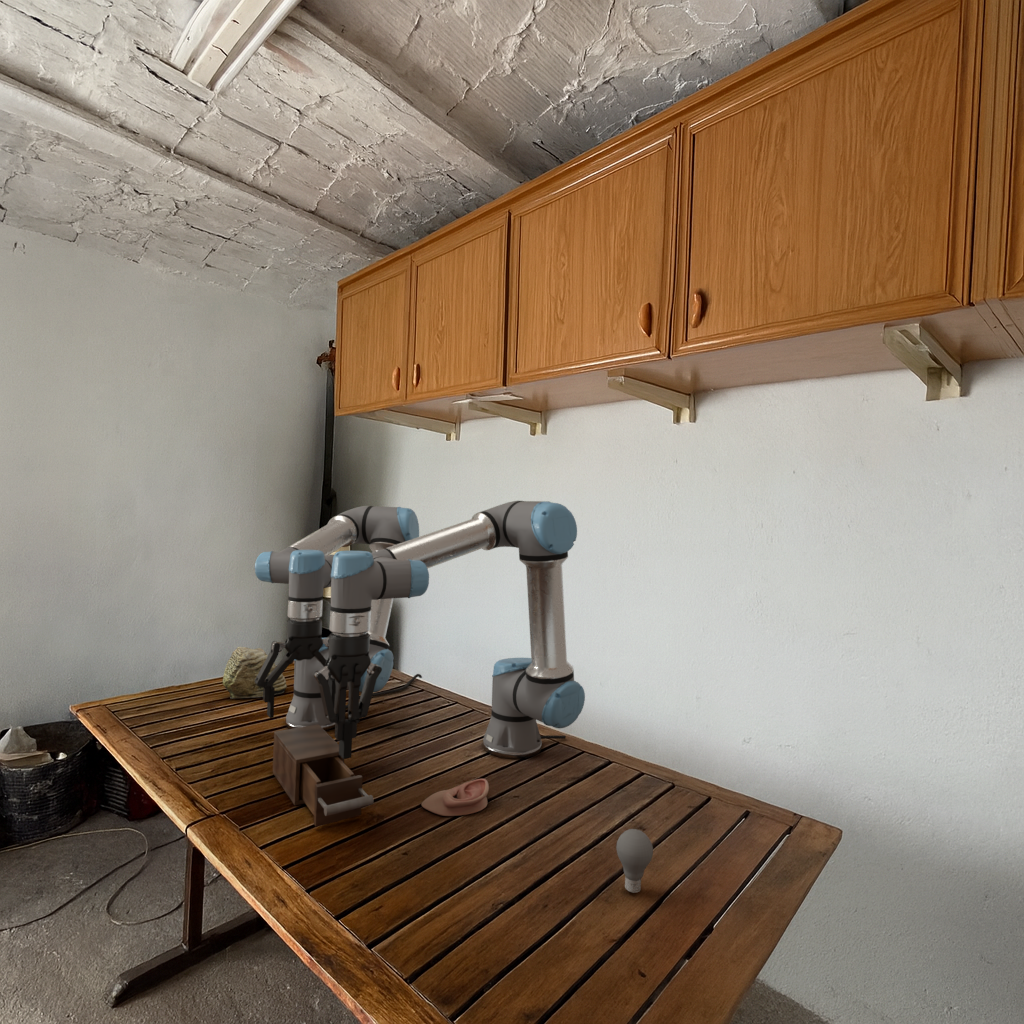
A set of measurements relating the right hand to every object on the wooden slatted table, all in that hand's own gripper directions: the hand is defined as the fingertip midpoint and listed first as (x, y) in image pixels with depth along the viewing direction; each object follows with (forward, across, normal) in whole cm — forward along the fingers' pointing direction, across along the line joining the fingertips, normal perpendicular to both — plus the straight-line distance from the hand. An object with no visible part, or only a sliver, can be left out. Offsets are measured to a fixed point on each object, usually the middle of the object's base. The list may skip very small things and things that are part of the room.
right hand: (344, 755), depth 121 cm
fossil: (+14, +4, +91) cm, 92 cm away
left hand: (0, 0, +28) cm, 28 cm away
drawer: (+13, 0, +7) cm, 15 cm away
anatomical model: (+14, +24, -2) cm, 28 cm away
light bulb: (+14, +35, -42) cm, 57 cm away
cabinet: (+14, 0, +23) cm, 27 cm away
